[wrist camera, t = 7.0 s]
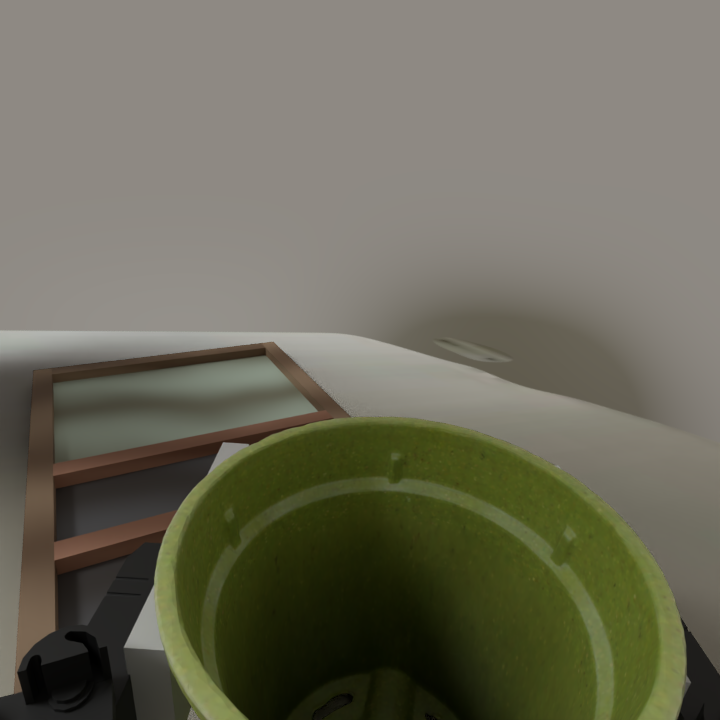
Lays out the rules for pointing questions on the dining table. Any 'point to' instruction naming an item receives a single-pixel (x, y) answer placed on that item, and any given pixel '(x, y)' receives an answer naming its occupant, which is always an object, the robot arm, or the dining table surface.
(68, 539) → the frame
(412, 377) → the dining table surface
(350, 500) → the plant pot
